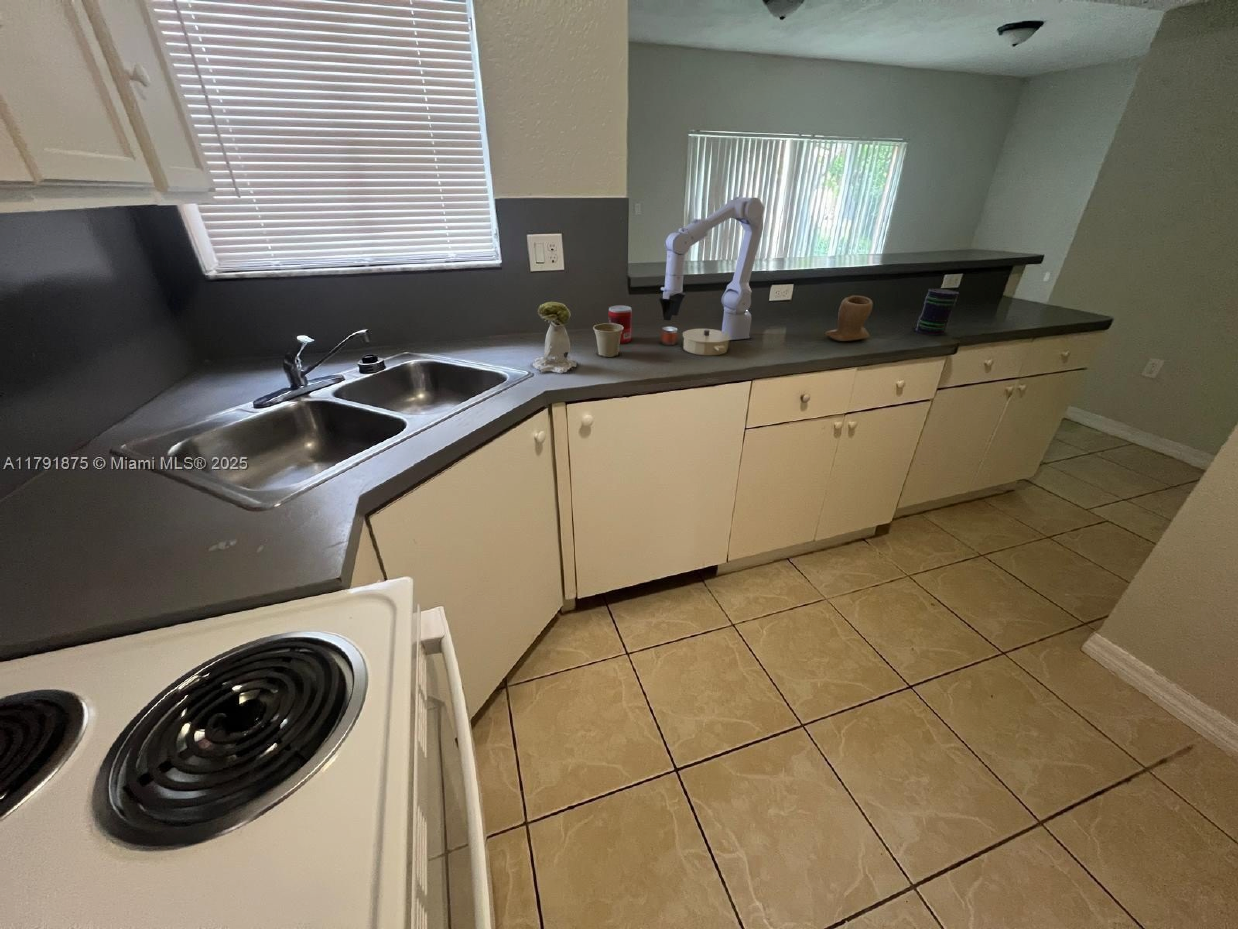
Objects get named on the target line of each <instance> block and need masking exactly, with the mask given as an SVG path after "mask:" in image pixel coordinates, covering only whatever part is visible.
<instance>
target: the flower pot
mask: <svg viewBox="0 0 1238 929" xmlns="http://www.w3.org/2000/svg"><path fill="white" fill-rule="evenodd" d="M592 329H593V331H594V334H595V338H596V344H597V351H598V355H599V356H602V357H604V358H614V357H615V356H618V355H619V350H620V337H621V334H622V330H623V329H624V327H623V326H621V325H619V324H612V323H609V322H607V323H606V322H604V323H597V324H595V325H594V326H593V327H592Z"/></svg>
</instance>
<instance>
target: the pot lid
mask: <svg viewBox="0 0 1238 929" xmlns="http://www.w3.org/2000/svg"><path fill="white" fill-rule="evenodd" d="M683 337H684V338H685V339H687V340H690V341H693V342H699V343H709V344H714V343H723V342H727V341H729V342H730V341H731V340H730V335H729V334H727V333H725V332H722V330H719V329H714V328H713V329H711V328H692V329H688V330H684V331H683V332H682V338H683Z"/></svg>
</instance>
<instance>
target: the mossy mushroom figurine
mask: <svg viewBox="0 0 1238 929" xmlns="http://www.w3.org/2000/svg"><path fill="white" fill-rule="evenodd" d="M537 315H538V316H540V318H541V319H542V320H544V322H547V323H548V324H549V327H548V328H547V332H546V335H545V341H544V356H542V357H537V358H535V359H534V363H532V367H533V368H535V369H537V370H539V371H540V373H545V372H553V373H557V374H563V373H567V372H568V370H570V369H572V370H574V369H573V367H574V368H577V367H578V364H577V360H574V359H571V357H570V356H569V352H570V351H571V343H570V341H571V338H570V337H569V334H568V332H567V330H566V326H565V325H567V324H568V323H569V320H570V318H571V311H570V309H569V308H568V307H567V306H566V305H565V304H564V303H562V302H557V301H548V302H544V303H542V304H540V305H539V306H538V308H537Z"/></svg>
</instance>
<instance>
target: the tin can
mask: <svg viewBox="0 0 1238 929" xmlns="http://www.w3.org/2000/svg"><path fill="white" fill-rule="evenodd" d="M661 329H662V330H661V344H662V345H664V346H674V345H677V338H678V328H677V327H675V326H663V327H662V328H661Z"/></svg>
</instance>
